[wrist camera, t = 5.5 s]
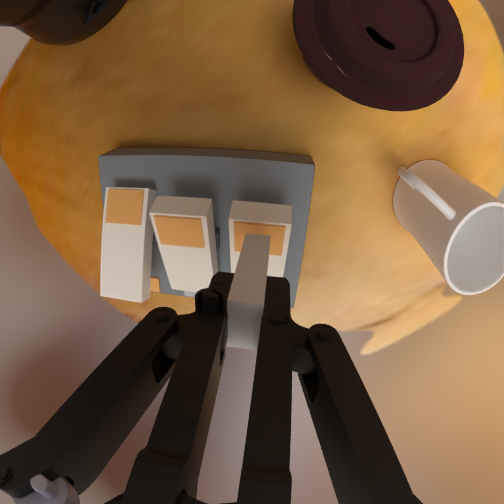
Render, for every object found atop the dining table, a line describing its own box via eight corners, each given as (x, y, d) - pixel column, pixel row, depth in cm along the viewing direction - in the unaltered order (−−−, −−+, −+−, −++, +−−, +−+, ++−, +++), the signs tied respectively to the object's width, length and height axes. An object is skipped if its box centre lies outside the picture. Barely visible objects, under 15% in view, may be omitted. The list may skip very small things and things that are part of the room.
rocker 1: (116, 189, 27) (104, 186, 25) (157, 190, 27) (148, 188, 25) (110, 291, 28) (99, 296, 26) (150, 298, 28) (140, 303, 25)
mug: (355, 179, 29) (394, 230, 18) (409, 119, 25) (476, 140, 14) (422, 247, 31) (468, 313, 21) (470, 197, 28) (532, 246, 17)
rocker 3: (232, 200, 23) (228, 220, 21) (292, 205, 22) (291, 226, 21) (235, 279, 30) (231, 298, 29) (279, 284, 30) (278, 303, 29)
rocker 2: (157, 195, 23) (148, 214, 22) (211, 198, 23) (205, 218, 21) (176, 273, 31) (171, 290, 29) (219, 277, 30) (215, 296, 29)
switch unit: (117, 148, 29) (91, 159, 24) (310, 156, 28) (316, 168, 23) (130, 268, 36) (112, 292, 32) (293, 286, 35) (293, 315, 31)
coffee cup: (366, -1, 19) (430, -63, 6) (405, 89, 23) (500, 96, 10) (270, 25, 22) (259, -40, 9) (313, 117, 26) (345, 137, 13)
